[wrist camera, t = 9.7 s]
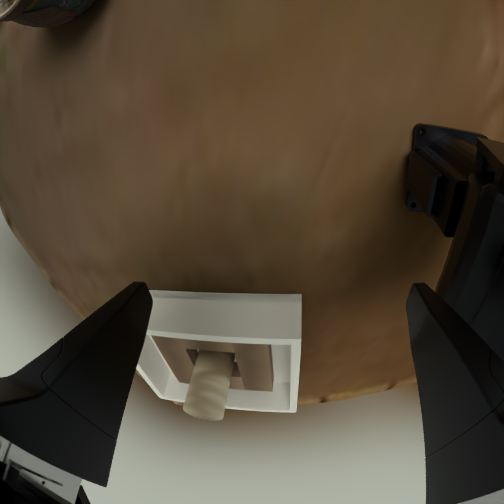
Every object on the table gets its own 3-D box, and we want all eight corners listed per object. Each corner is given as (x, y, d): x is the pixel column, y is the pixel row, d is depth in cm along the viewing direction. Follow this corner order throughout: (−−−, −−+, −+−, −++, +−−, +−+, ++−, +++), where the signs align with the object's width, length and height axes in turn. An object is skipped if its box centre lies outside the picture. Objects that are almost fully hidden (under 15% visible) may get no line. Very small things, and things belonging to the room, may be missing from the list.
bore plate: (268, 316, 26) (266, 333, 25) (273, 377, 33) (272, 391, 32) (151, 310, 28) (145, 325, 27) (182, 369, 35) (179, 382, 34)
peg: (233, 340, 29) (218, 408, 23) (238, 359, 32) (226, 422, 25) (196, 337, 30) (177, 402, 24) (205, 357, 32) (189, 417, 26)
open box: (301, 293, 25) (301, 339, 21) (297, 378, 35) (296, 412, 31) (125, 288, 28) (105, 323, 24) (169, 368, 38) (159, 398, 34)
